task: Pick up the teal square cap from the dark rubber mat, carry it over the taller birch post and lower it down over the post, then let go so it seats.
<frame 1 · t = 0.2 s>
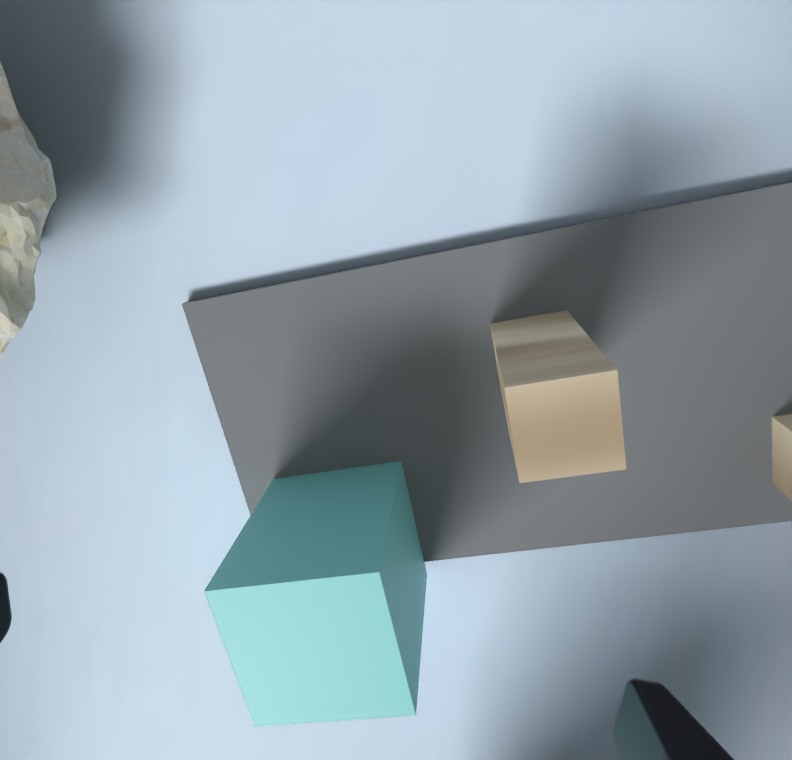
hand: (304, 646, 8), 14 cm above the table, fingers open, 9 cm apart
cap: (351, 527, 23), resting on mat
mat: (552, 399, 21), on the table
post: (532, 352, 20), resting on mat
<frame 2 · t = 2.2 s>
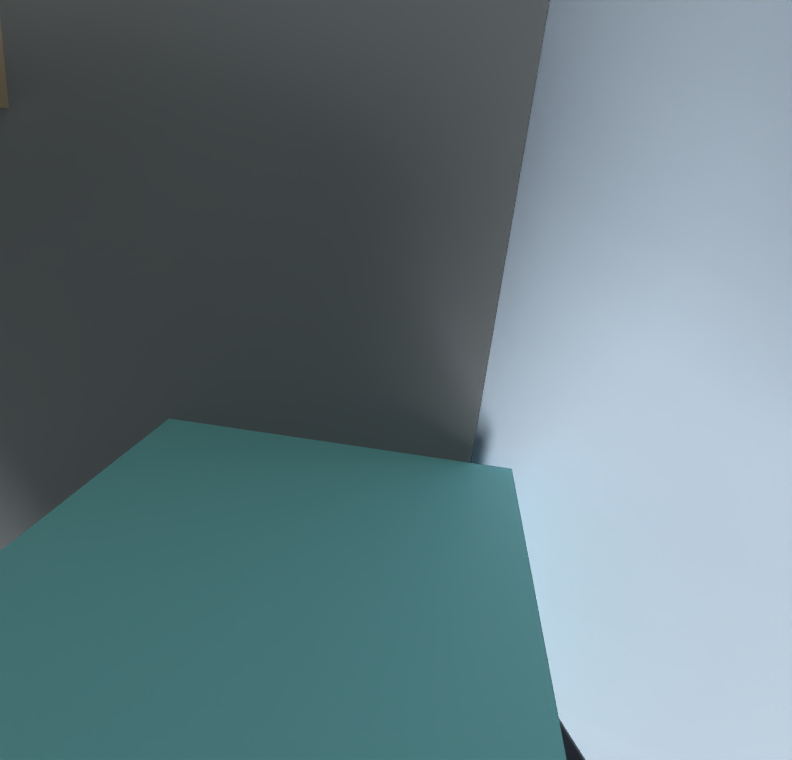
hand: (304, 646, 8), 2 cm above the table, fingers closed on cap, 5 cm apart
cap: (324, 586, 9), resting on mat, touching gripper
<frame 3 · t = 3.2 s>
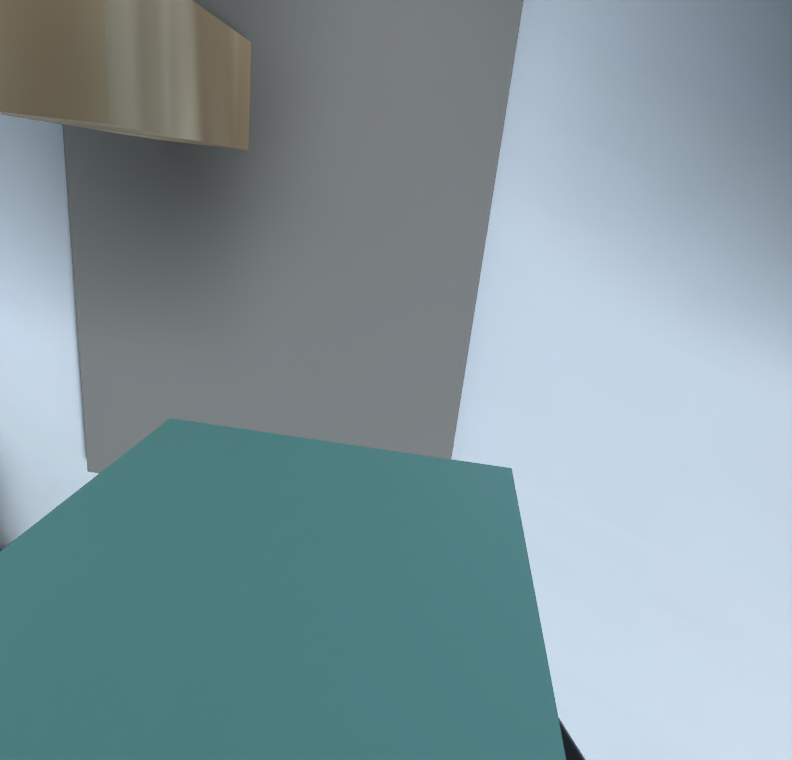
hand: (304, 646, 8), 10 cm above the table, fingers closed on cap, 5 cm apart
cap: (325, 585, 9), point 9 cm above the table, touching gripper
mat: (280, 82, 15), on the table
post: (202, 92, 15), resting on mat
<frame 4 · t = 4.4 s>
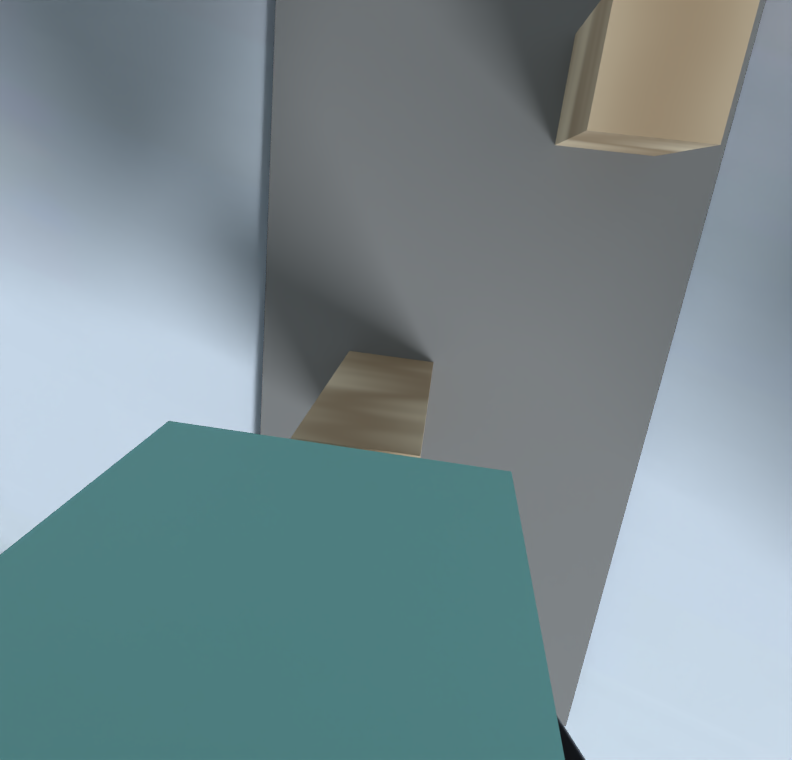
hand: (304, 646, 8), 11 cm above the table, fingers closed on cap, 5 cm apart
cap: (324, 589, 9), point 9 cm above the table, touching gripper
tan block: (615, 96, 15), resting on mat
mat: (452, 385, 18), on the table
post: (386, 396, 18), resting on mat
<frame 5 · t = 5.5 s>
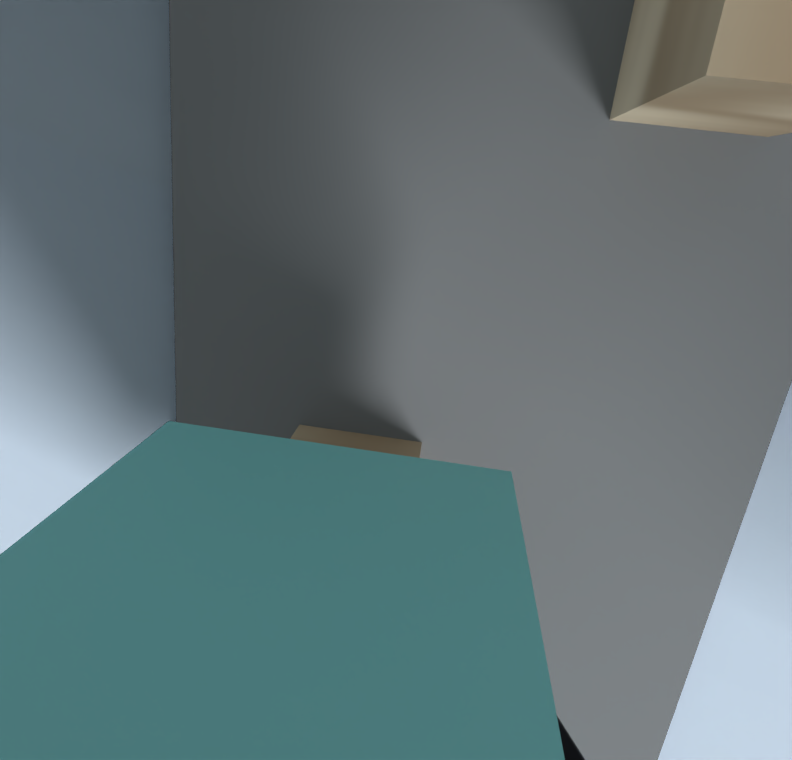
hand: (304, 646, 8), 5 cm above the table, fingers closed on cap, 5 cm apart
cap: (324, 589, 9), point 4 cm above the table, touching gripper
tan block: (710, 40, 9), resting on mat
mat: (450, 472, 12), on the table
post: (354, 487, 12), resting on mat
when the fingers open (4 cm above the table, at t = 6.7 s): cap drops 2 cm, resting on post.
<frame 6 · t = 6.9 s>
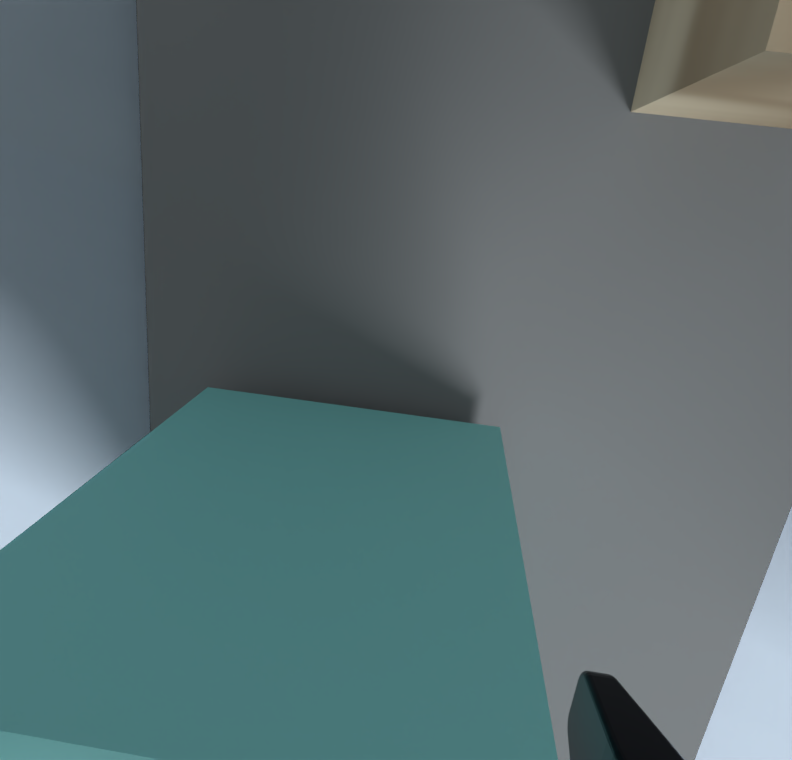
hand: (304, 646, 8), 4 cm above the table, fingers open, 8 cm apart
cap: (340, 533, 11), point 1 cm above the table, touching post
tan block: (746, 21, 8), resting on mat
mat: (451, 499, 11), on the table
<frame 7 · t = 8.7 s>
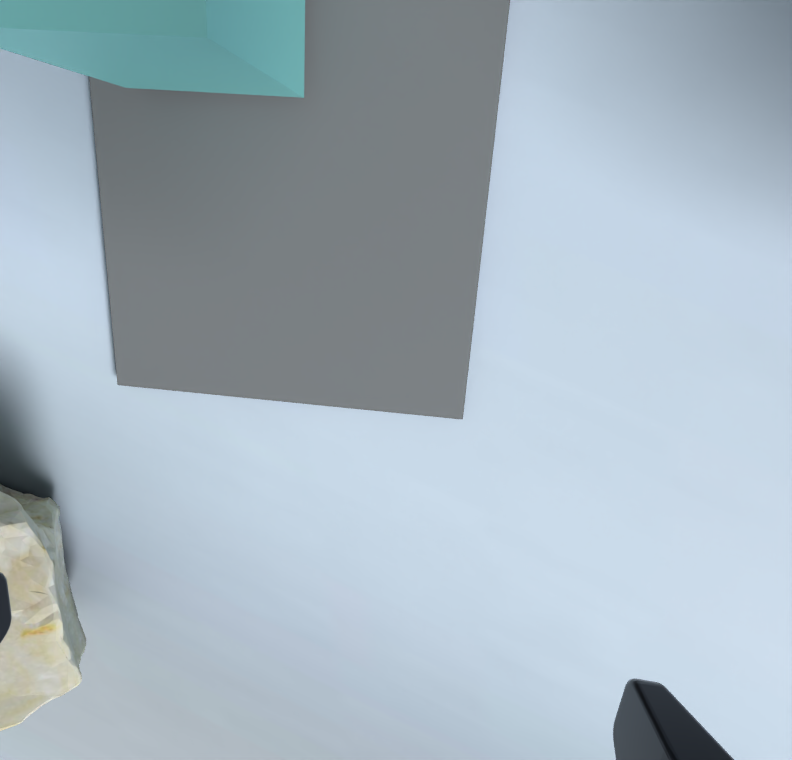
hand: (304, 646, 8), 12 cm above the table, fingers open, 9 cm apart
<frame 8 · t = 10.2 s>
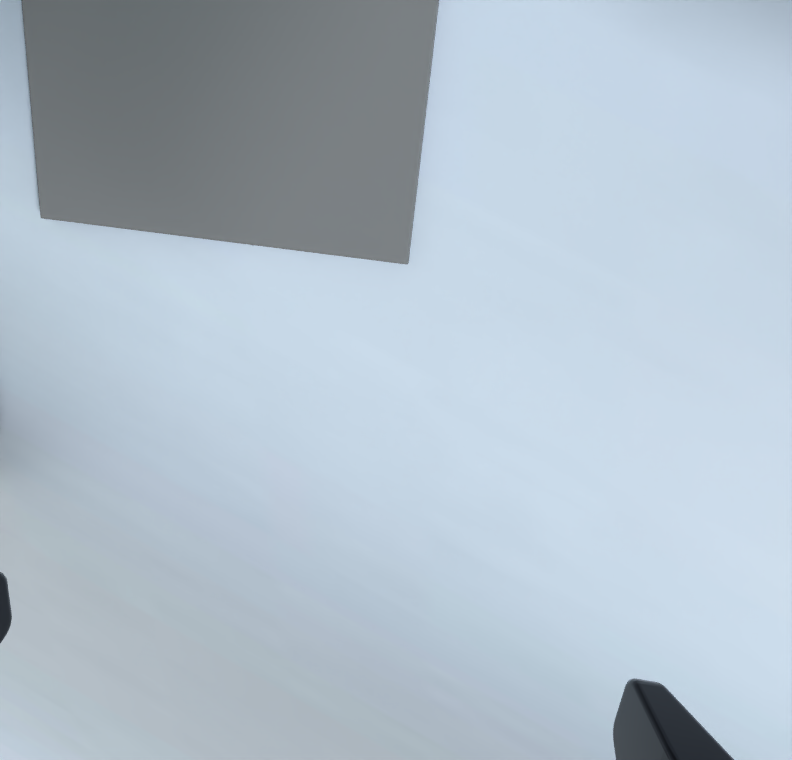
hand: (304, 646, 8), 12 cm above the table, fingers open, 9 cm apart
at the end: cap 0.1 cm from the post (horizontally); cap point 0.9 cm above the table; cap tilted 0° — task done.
